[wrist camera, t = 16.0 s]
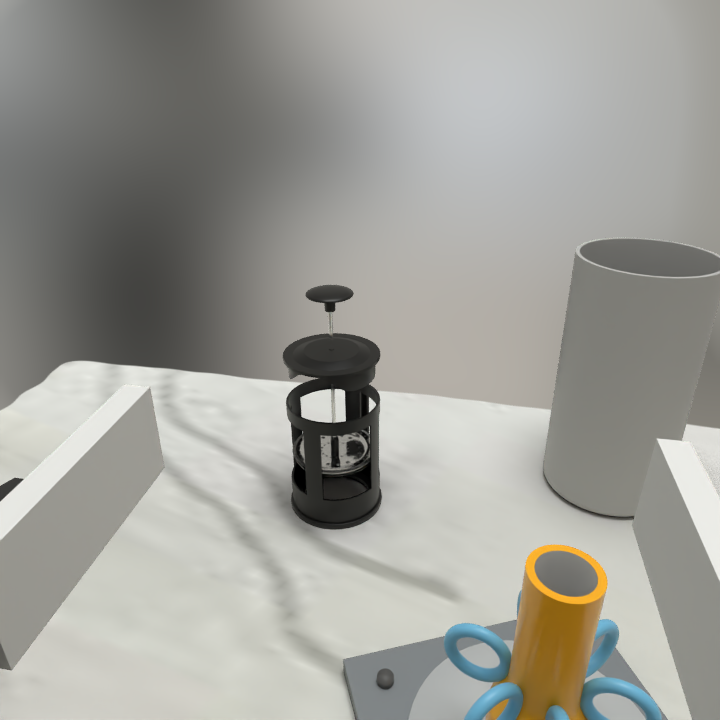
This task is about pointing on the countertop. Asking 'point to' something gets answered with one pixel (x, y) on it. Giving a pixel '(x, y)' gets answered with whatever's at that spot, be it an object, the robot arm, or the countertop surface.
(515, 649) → the orange ringed tube
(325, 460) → the french press
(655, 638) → the countertop surface
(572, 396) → the cylinder vase
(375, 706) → the grey plate with disc
